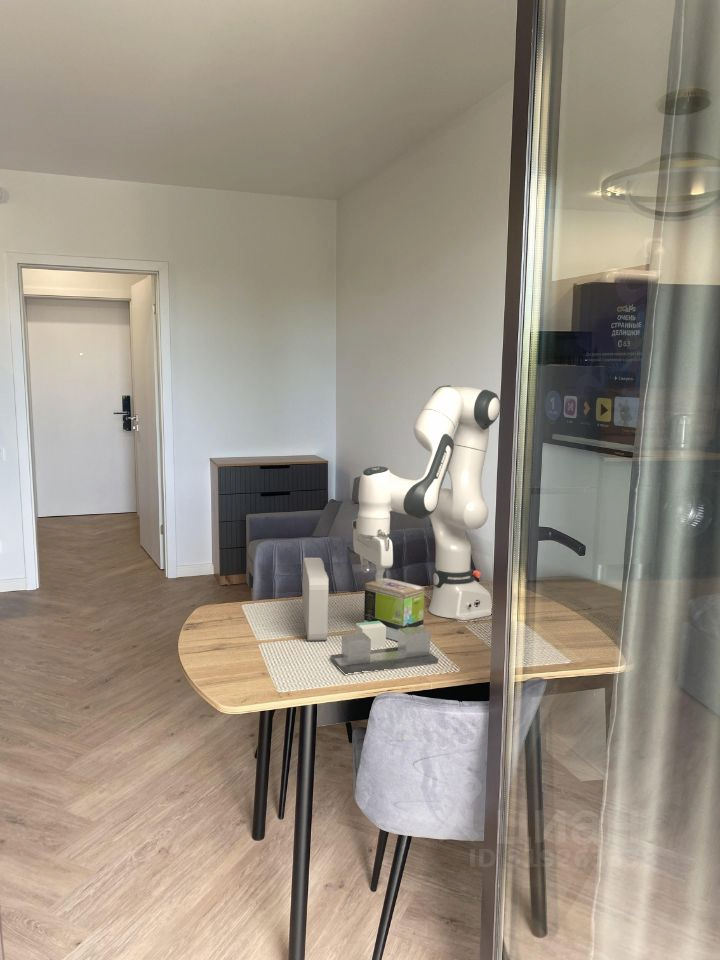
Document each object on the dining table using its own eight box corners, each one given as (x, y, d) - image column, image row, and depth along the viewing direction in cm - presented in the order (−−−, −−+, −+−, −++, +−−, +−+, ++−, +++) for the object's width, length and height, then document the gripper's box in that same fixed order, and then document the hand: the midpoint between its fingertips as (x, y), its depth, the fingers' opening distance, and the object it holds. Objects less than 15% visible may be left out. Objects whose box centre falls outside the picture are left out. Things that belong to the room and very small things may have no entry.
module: (378, 641, 208) (379, 620, 207) (385, 647, 203) (386, 625, 202) (355, 643, 205) (355, 622, 204) (361, 650, 201) (362, 628, 200)
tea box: (424, 635, 213) (426, 586, 211) (402, 644, 206) (404, 593, 204) (384, 623, 223) (385, 576, 221) (362, 631, 216) (363, 582, 214)
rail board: (419, 648, 203) (420, 622, 202) (438, 663, 192) (439, 635, 191) (330, 659, 193) (330, 632, 192) (344, 675, 183) (345, 646, 182)
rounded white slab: (335, 642, 206) (336, 580, 203) (308, 643, 205) (309, 580, 202) (326, 610, 234) (327, 555, 231) (302, 611, 233) (303, 555, 230)
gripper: (400, 533, 191) (397, 585, 193) (370, 519, 210) (368, 566, 212) (377, 535, 189) (375, 587, 191) (349, 520, 208) (348, 568, 210)
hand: (371, 576), depth 202 cm, fingers open, 8 cm apart
